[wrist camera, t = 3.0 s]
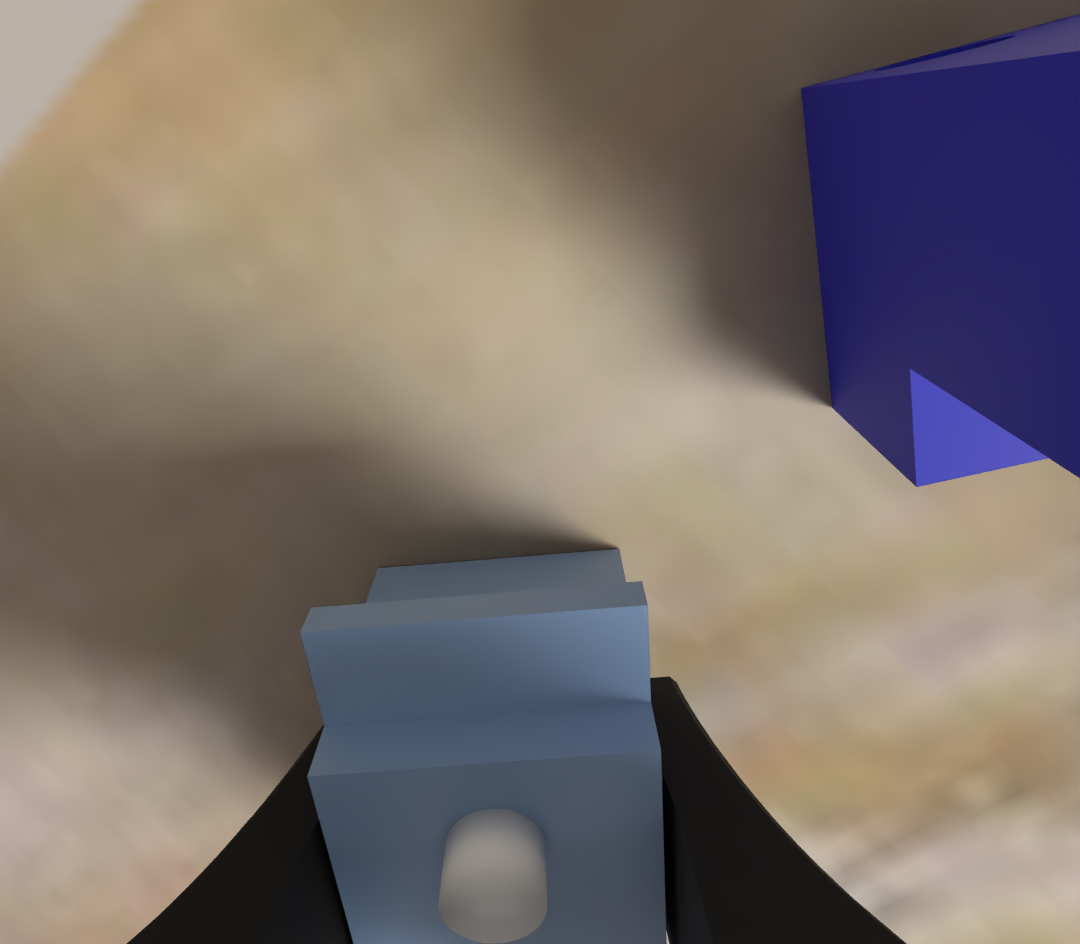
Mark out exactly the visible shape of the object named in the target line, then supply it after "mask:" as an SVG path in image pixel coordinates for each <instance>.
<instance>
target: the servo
mask: <svg viewBox="0 0 1080 944" xmlns="http://www.w3.org/2000/svg"><path fill="white" fill-rule="evenodd" d="M300 634H301V638H302V642H303V646H304V650H305V654H306V658H307V662H308V666H309V669H310V673H311V677H312V681H313V685H314V689H315V693H316V697H317V701H318V705H319V708H320V712H321V716H322V720H323V724H324V728H323V731H322V734H321V737H320V740H319V743H318V746H317V749H316V752H315V755H314V758H313V761H312V764H311V767H310V770H309V773H308V776H307V778H308V781H309V785H310V788H311V792H312V796H313V799H314V803H315V806H316V810H317V814H318V817H319V821H320V824H321V828H322V832H323V835H324V839H325V843H326V846H327V850H328V853H329V857H330V861H331V864H332V868H333V871H334V875H335V879H336V882H337V886H338V889H339V893H340V897H341V900H342V904H343V907H344V911H345V915H346V918H347V922H348V926H349V929H350V933H351V936H352V940H353V944H666V908H665V873H664V837H663V801H662V766H661V748H660V743H659V738H658V733H657V729H656V724H655V719H654V714H653V709H652V705H651V689H650V659H649V630H648V604H647V600H646V596H645V592H644V588H643V584H642V581H640V582H627V583H626V580H625V575H624V570H623V565H622V561H621V556H620V551H619V549H610V550H598V551H585V552H573V553H560V554H548V555H536V556H523V557H511V558H498V559H486V560H473V561H461V562H448V563H436V564H424V565H411V566H399V567H386V568H377V571H376V574H375V577H374V580H373V583H372V586H371V589H370V592H369V595H368V598H367V601H366V603H363V604H350V605H337V606H325V607H312V608H311V609H310V611H309V613H308V616H307V618H306V620H305V622H304V624H303V627H302V629H301V631H300Z"/></svg>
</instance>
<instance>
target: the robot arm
mask: <svg viewBox="0 0 1080 944" xmlns="http://www.w3.org/2000/svg"><path fill="white" fill-rule="evenodd" d="M650 689H651V705H652V709H653V714H654V719H655V724H656V729H657V733H658V738H659V743H660V748H661V766H662V801H663V837H664V873H665V908H666V931H667V935H668V939H669V943H670V944H906V943H905V942H904V941H903V940H902V939H900V938H899V937H898V936H897V935H896V934H894V933H893V932H892V931H891V930H890V929H889V928H887V927H886V926H885V925H884V924H883V923H881V922H880V921H879V920H878V919H877V918H876V917H874V916H873V915H872V914H871V913H870V912H868V911H867V910H866V909H865V908H864V907H863V906H861V905H860V904H859V903H858V902H857V901H856V900H854V899H853V898H852V897H851V896H850V895H849V894H848V893H847V892H846V891H845V890H844V889H842V888H841V887H840V886H839V885H838V884H837V883H836V882H835V881H834V880H833V879H832V878H831V877H830V876H829V875H828V874H827V873H826V872H825V871H823V870H822V869H821V868H820V867H819V866H818V865H817V864H816V863H815V862H814V861H813V860H812V859H811V858H810V857H809V856H808V855H807V853H806V852H805V851H804V850H803V849H802V848H801V847H800V846H799V845H798V844H797V843H796V842H795V841H794V840H793V839H792V838H791V837H790V836H789V835H788V834H787V833H786V831H785V830H784V829H783V828H782V827H781V826H780V825H779V824H778V823H777V822H776V820H775V819H774V818H773V817H772V816H771V815H770V813H769V812H768V811H767V810H766V809H765V808H764V806H763V805H762V804H761V803H760V802H759V801H758V799H757V798H756V797H755V796H754V795H753V793H752V792H751V791H750V790H749V789H748V787H747V786H746V785H745V784H744V782H743V781H742V780H741V779H740V777H739V776H738V775H737V773H736V772H735V771H734V769H733V768H732V767H731V765H730V764H729V763H728V761H727V760H726V759H725V757H724V756H723V755H722V753H721V752H720V751H719V749H718V748H717V747H716V745H715V744H714V742H713V741H712V740H711V738H710V737H709V735H708V734H707V732H706V731H705V729H704V728H703V726H702V725H701V723H700V722H699V720H698V719H697V717H696V716H695V714H694V712H693V711H692V709H691V708H690V706H689V704H688V703H687V701H686V699H685V697H684V696H683V694H682V692H681V690H680V688H679V686H678V684H677V682H676V681H674V680H673V679H672V678H671V677H658V678H650ZM323 728H324V725H323V726H322V727H321V729H320V730H319V731H318V733H317V734H316V736H315V737H314V738H313V740H312V741H311V742H310V744H309V745H308V746H307V748H306V749H305V750H304V752H303V753H302V754H301V756H300V757H299V758H298V760H297V761H296V762H295V763H294V765H293V766H292V767H291V769H290V770H289V771H288V773H287V774H286V775H285V776H284V778H283V779H282V780H281V781H280V783H279V784H278V785H277V786H276V788H275V789H274V790H273V791H272V793H271V794H270V795H269V796H268V798H267V799H266V800H265V801H264V803H263V804H262V805H261V806H260V808H259V809H258V810H257V811H256V812H255V814H254V815H253V816H252V817H251V818H250V819H249V820H248V822H247V823H246V824H245V825H244V826H243V827H242V828H241V830H240V831H239V832H238V833H237V834H236V835H235V836H234V838H233V839H232V840H231V841H230V842H229V843H228V845H227V846H226V847H225V848H224V849H223V850H222V851H221V853H220V854H219V855H218V856H217V857H216V858H215V859H214V860H213V861H212V862H211V863H210V864H209V865H208V867H207V868H206V869H205V870H204V871H203V872H202V873H201V874H200V875H199V876H198V877H197V878H196V879H195V880H194V881H193V882H192V883H191V884H190V885H189V886H188V887H187V888H186V889H185V890H184V891H183V892H182V893H181V894H180V895H179V896H178V897H177V898H176V899H175V900H174V901H173V902H172V903H171V904H170V905H169V906H168V907H167V908H166V909H165V910H164V911H163V912H162V913H161V914H160V915H159V916H158V917H157V918H155V919H154V920H153V921H152V922H151V923H150V924H149V925H148V926H146V927H145V928H144V929H143V930H142V931H141V932H140V933H138V934H137V935H136V936H135V937H134V938H133V939H132V940H130V941H129V942H128V943H127V944H353V940H352V936H351V933H350V929H349V926H348V922H347V918H346V915H345V911H344V907H343V904H342V900H341V897H340V893H339V889H338V886H337V882H336V879H335V875H334V871H333V868H332V864H331V861H330V857H329V853H328V850H327V846H326V843H325V839H324V835H323V832H322V828H321V824H320V821H319V817H318V814H317V810H316V806H315V803H314V799H313V796H312V792H311V788H310V785H309V781H308V778H307V776H308V773H309V770H310V767H311V764H312V761H313V758H314V755H315V752H316V749H317V746H318V743H319V740H320V737H321V734H322V731H323Z"/></svg>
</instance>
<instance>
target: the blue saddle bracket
mask: <svg viewBox="0 0 1080 944" xmlns="http://www.w3.org/2000/svg"><path fill="white" fill-rule="evenodd" d="M801 91H802V101H803V111H804V122H805V132H806V142H807V152H808V163H809V173H810V183H811V193H812V204H813V214H814V224H815V235H816V245H817V255H818V265H819V276H820V286H821V296H822V307H823V317H824V327H825V337H826V348H827V358H828V368H829V378H830V389H831V399H832V408H833V409H834V410H835V411H836V412H837V413H838V414H839V415H841V416H842V417H843V418H844V419H845V420H846V421H847V422H848V423H849V424H850V425H851V426H852V427H853V428H854V429H855V430H856V431H858V432H859V433H860V434H861V435H862V436H863V437H864V438H865V439H866V440H867V441H868V442H869V443H870V444H871V445H872V446H873V447H875V448H876V449H877V450H878V451H879V452H880V453H881V454H882V455H883V456H884V457H885V458H886V459H887V460H888V461H889V462H890V463H892V464H893V465H894V466H895V467H896V468H897V469H898V470H899V471H900V472H901V473H902V474H903V475H904V476H905V477H906V478H908V479H909V480H910V481H911V482H912V483H913V484H914V485H915V486H916V487H919V486H923V485H928V484H932V483H937V482H942V481H946V480H951V479H955V478H960V477H964V476H969V475H974V474H978V473H983V472H987V471H992V470H997V469H1001V468H1006V467H1010V466H1015V465H1019V464H1024V463H1029V462H1033V461H1038V460H1042V459H1047V458H1050V459H1051V460H1053V461H1054V462H1056V463H1057V464H1059V465H1060V466H1062V467H1063V468H1065V469H1067V470H1068V471H1070V472H1071V473H1073V474H1074V475H1076V476H1077V477H1079V478H1080V14H1079V15H1075V16H1071V17H1067V18H1064V19H1060V20H1056V21H1052V22H1048V23H1045V24H1041V25H1037V26H1033V27H1030V28H1026V29H1022V30H1018V31H1015V32H1011V33H1007V34H1003V35H1000V36H996V37H992V38H988V39H985V40H981V41H977V42H973V43H970V44H966V45H962V46H958V47H955V48H951V49H947V50H943V51H939V52H936V53H932V54H928V55H924V56H921V57H917V58H913V59H909V60H906V61H902V62H898V63H894V64H891V65H887V66H883V67H879V68H876V69H872V70H868V71H864V72H861V73H857V74H853V75H849V76H846V77H842V78H838V79H834V80H830V81H827V82H823V83H819V84H815V85H812V86H808V87H804V88H801Z"/></svg>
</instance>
